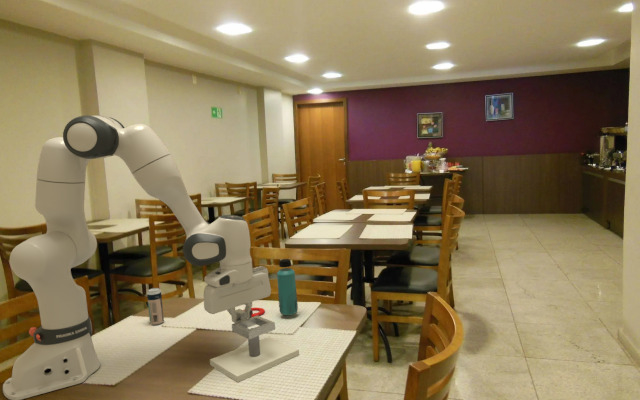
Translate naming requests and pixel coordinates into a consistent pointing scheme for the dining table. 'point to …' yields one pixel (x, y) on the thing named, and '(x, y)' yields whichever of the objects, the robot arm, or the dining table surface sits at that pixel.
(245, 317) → the steel link
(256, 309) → the tow hook
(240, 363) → the board
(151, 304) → the beer can
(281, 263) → the beverage bottle
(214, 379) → the dining table surface
